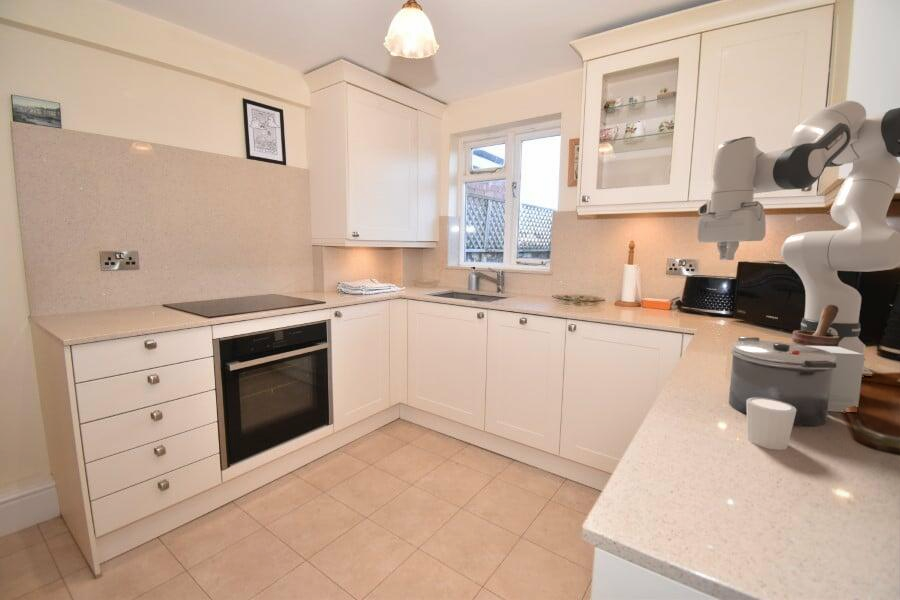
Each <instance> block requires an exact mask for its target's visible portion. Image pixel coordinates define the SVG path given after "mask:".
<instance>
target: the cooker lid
mask: <svg viewBox="0 0 900 600" xmlns="http://www.w3.org/2000/svg"><path fill="white" fill-rule="evenodd" d="M731 344H732V345H731V351H732V350H733V351H735V352H737V353H739V354H742V355H745V356H749V357H752V358H757V359H761V360H767V361H772V362H779V363H786V364H796V365H807V366H811V367H814V368H836V364H837V363H835V362H836V355H834V354H833V353H830V352H828V351H825V350H821V349H817V348H813V347H808V346H803V345H797V344H792V342H791V343H789V342H781V341H771V340H770V341H769V340H761V339H760V337H756V336H755V337H753V336H752V337H750V336H749V337H748V336H747V337H742V336H741V337H738V341H737V340H736V341H733V342H732V343H731Z"/></svg>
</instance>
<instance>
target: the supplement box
mask: <svg viewBox="0 0 900 600" xmlns="http://www.w3.org/2000/svg"><path fill="white" fill-rule="evenodd" d="M808 347H813V348H817V349H821V350H825V351H828V352H830V353H833V354H834V355H836V362H835V363H837V364H836V368H833V369H832V377H831V386H830V394H829V402H828V410H827V412H836V413H845V412H844V410H845V409H846V408H847V407H853V406H856V407H858V408H859V401H860V393H861V386H862V377H863V376H862V370H863V362H864V363H865V361H864V354H861V353H858V352H854V351H851V350H848V349H844V348H841V347H835V346H808Z"/></svg>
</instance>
